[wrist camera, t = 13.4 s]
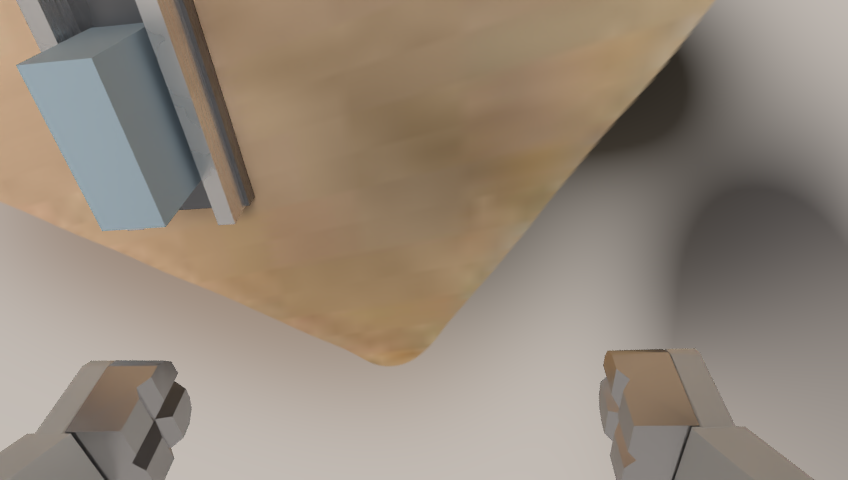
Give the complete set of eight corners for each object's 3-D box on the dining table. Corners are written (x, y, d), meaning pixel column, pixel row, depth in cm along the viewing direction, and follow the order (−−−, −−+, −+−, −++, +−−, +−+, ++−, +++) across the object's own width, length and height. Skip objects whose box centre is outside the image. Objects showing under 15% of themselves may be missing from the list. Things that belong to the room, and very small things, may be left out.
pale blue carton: (153, 174, 39) (102, 230, 34) (90, 28, 34) (16, 65, 28) (207, 170, 39) (165, 226, 33) (153, 21, 33) (91, 58, 27)
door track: (43, -28, 33) (3, -15, 30) (179, -42, 32) (151, -31, 29) (146, 203, 42) (123, 230, 39) (254, 196, 41) (239, 223, 38)
